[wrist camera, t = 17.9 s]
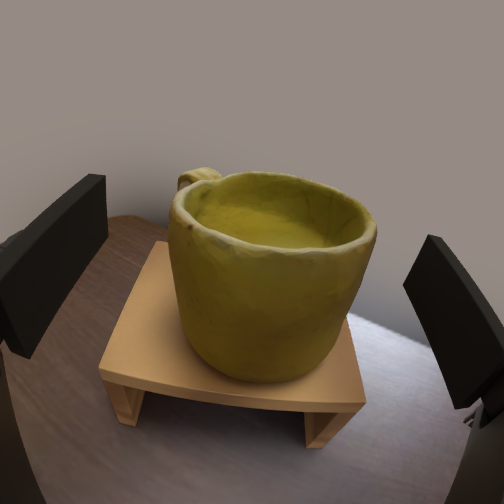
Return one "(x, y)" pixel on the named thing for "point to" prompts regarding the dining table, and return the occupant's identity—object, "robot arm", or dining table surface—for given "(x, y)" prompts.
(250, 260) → the mug
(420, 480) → the dining table surface
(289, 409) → the shelf
